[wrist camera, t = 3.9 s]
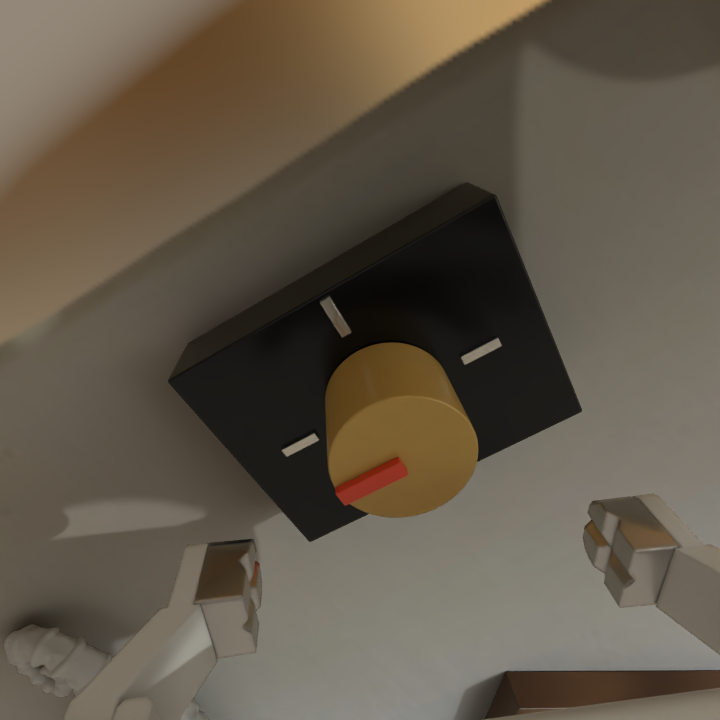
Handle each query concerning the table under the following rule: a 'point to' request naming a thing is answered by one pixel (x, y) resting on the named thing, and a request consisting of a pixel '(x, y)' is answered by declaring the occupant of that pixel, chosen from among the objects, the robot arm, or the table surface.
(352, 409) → the dimmer knob
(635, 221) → the table surface
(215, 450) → the table surface
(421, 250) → the dimmer
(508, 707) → the lamp base
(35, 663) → the seahorse
